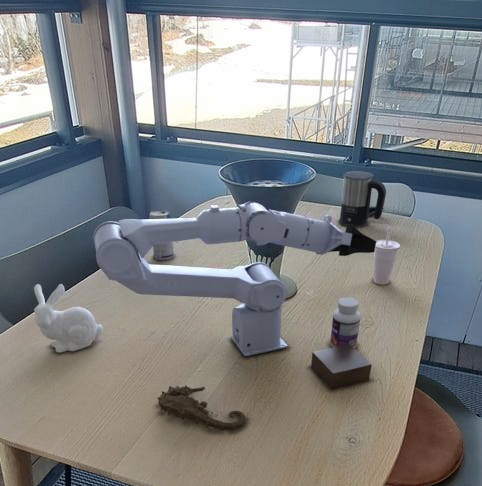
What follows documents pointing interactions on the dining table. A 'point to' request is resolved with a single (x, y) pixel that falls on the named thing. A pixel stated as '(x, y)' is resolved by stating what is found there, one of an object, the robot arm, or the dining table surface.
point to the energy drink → (164, 249)
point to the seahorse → (194, 408)
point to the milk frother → (360, 198)
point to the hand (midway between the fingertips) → (363, 246)
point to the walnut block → (340, 366)
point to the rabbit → (65, 323)
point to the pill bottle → (345, 323)
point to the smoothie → (384, 259)
